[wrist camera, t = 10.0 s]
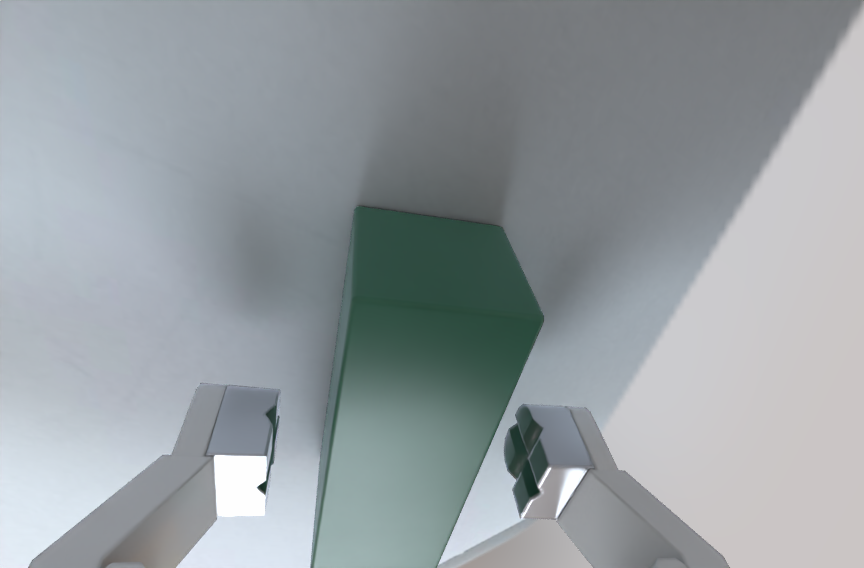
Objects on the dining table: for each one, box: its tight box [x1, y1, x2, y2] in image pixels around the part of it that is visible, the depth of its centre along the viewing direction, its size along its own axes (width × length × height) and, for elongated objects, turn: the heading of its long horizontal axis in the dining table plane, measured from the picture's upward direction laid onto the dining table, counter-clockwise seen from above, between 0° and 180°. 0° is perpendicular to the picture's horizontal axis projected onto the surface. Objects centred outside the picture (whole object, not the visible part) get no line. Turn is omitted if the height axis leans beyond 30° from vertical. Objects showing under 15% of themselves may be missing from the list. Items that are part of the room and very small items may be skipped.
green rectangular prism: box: [310, 206, 544, 568], centre depth 11 cm, size 8×3×3 cm, turn 168°
